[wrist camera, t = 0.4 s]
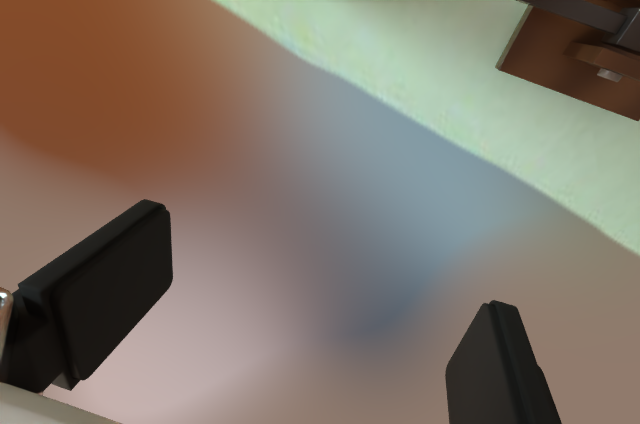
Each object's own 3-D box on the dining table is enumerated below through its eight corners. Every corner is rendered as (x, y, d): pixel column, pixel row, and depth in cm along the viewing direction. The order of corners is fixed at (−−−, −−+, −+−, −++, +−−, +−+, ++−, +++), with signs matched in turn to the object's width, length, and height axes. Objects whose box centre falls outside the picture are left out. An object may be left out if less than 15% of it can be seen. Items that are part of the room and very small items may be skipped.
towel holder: (494, 67, 31) (514, 81, 25) (570, -74, 26) (621, -102, 19) (628, 116, 30) (683, 143, 24) (734, -17, 25) (839, -27, 19)
